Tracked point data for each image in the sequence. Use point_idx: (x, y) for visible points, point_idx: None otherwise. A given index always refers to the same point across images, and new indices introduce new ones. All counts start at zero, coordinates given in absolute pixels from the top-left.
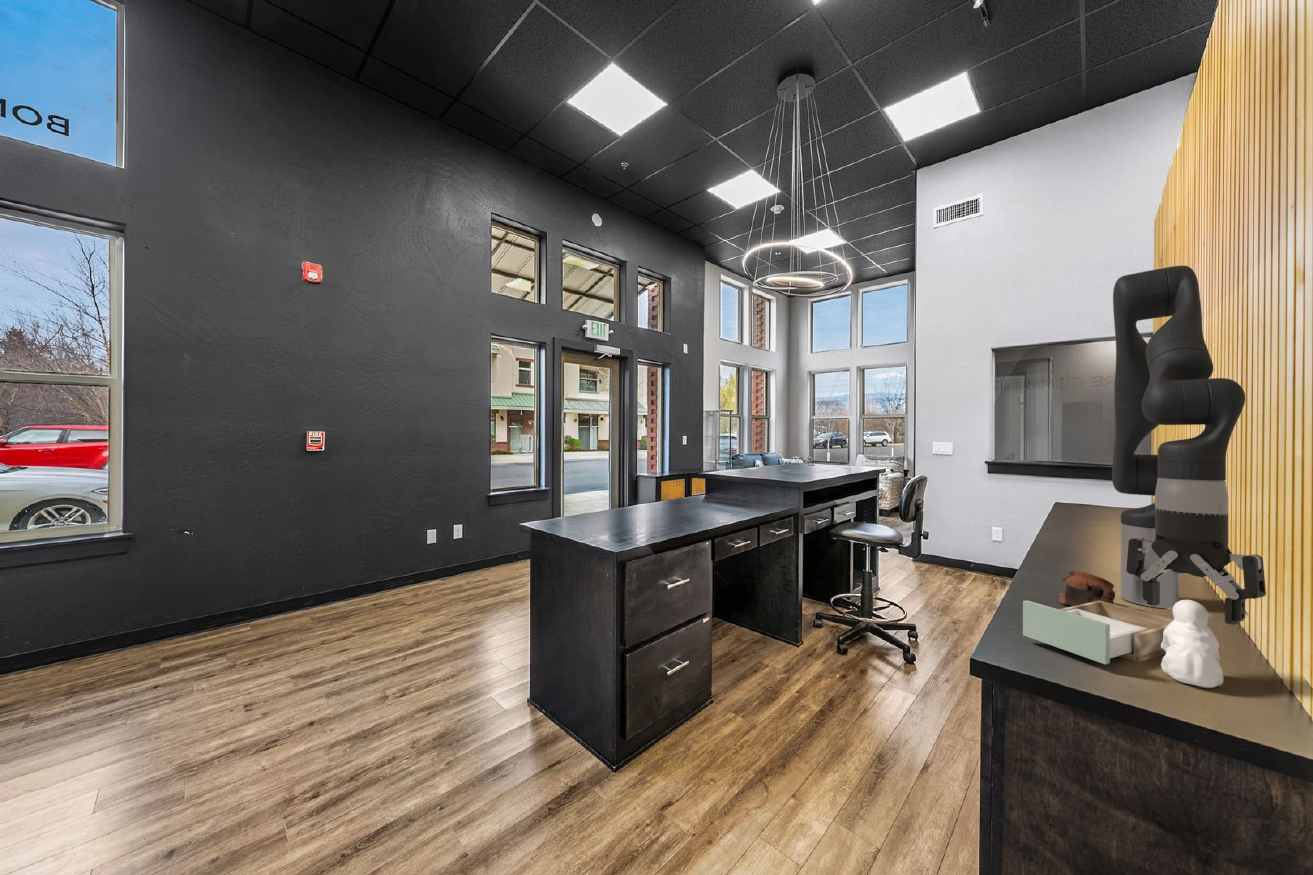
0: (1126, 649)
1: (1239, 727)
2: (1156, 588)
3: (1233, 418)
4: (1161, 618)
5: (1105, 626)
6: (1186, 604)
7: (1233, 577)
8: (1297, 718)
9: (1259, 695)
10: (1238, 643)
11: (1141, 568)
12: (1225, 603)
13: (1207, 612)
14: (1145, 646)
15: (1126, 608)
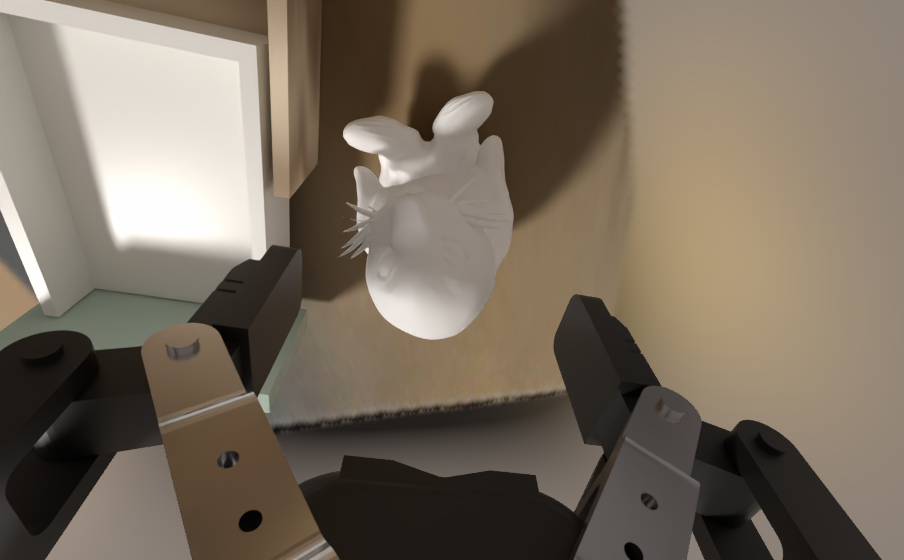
0: (284, 198)
1: (532, 362)
2: (268, 335)
3: None
4: None
5: (270, 408)
6: (423, 337)
7: (696, 490)
8: (622, 233)
9: (572, 144)
10: None
11: (87, 416)
12: (578, 420)
13: (494, 277)
14: (305, 131)
15: None
